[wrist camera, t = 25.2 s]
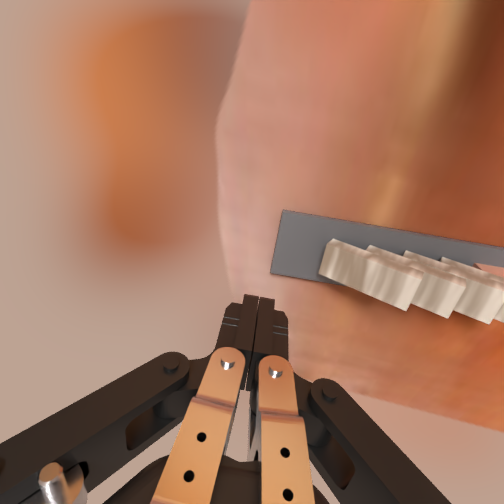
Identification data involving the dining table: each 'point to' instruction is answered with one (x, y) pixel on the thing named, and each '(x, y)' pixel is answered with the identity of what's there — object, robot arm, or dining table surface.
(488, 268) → the end domino
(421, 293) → the domino
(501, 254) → the domino board
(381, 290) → the domino
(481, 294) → the domino
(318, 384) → the robot arm
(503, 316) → the domino
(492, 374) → the dining table surface
